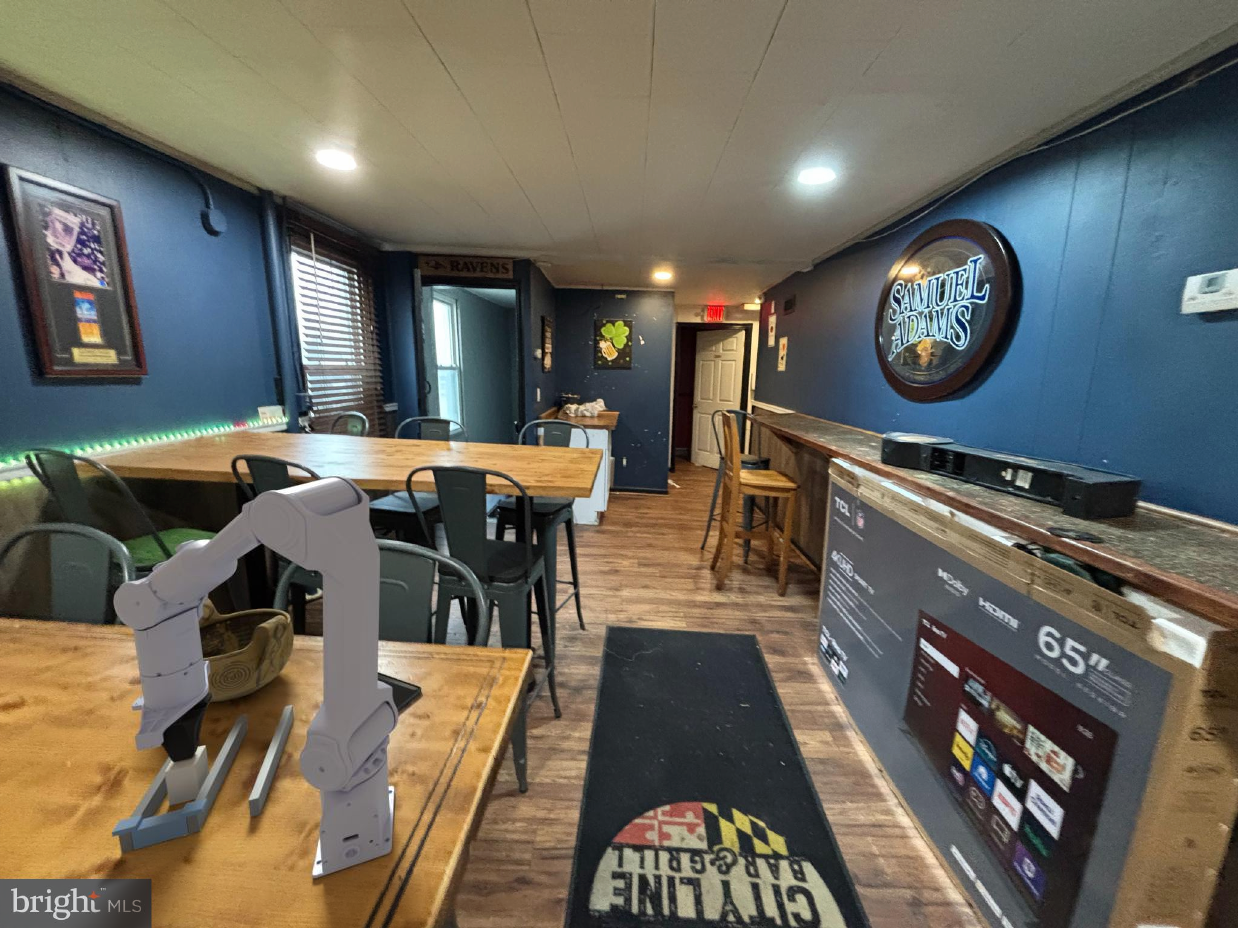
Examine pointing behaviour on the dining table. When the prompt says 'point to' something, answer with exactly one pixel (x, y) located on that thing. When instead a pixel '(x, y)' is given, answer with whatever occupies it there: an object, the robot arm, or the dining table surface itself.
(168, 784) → the cream rectangular box
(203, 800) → the metal rails
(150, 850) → the dining table surface
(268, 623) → the ceramic bowl
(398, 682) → the black tray
